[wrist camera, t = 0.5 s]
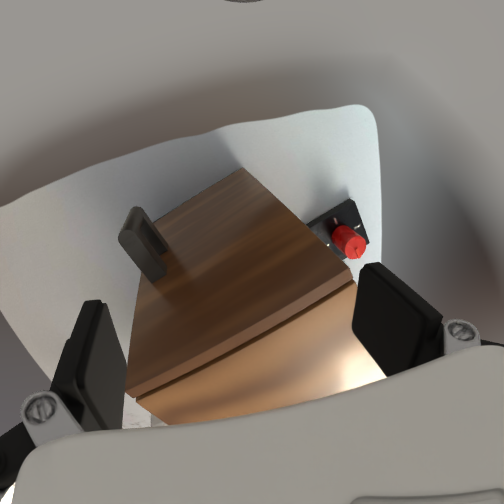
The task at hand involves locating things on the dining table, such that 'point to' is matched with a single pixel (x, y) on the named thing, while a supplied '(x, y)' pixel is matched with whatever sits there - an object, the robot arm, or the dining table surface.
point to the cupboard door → (218, 277)
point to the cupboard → (273, 367)
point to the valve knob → (348, 242)
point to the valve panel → (338, 224)
